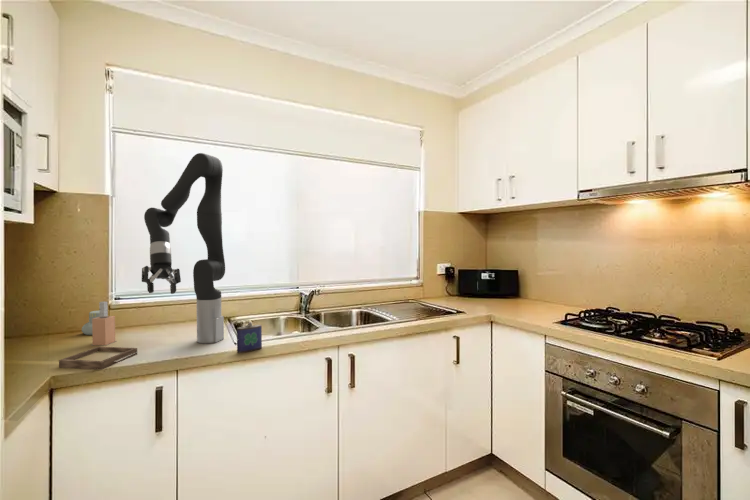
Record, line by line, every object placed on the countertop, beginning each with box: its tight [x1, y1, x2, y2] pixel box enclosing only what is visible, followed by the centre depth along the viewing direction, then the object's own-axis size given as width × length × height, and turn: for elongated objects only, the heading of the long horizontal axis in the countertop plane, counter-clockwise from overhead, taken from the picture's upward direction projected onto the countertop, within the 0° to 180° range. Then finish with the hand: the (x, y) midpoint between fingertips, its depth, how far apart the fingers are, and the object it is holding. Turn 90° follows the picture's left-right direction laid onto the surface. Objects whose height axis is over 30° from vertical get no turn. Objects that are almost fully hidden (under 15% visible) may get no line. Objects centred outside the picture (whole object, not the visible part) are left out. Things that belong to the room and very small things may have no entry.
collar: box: [92, 315, 116, 346], centre depth 141 cm, size 5×5×10 cm
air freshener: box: [81, 310, 100, 336], centre depth 157 cm, size 11×8×10 cm
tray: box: [58, 345, 138, 370], centre depth 124 cm, size 15×15×2 cm
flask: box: [236, 321, 263, 354], centre depth 136 cm, size 9×3×11 cm, turn 130°
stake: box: [91, 300, 117, 347], centre depth 141 cm, size 6×6×17 cm
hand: (162, 293), depth 145 cm, fingers open, 8 cm apart
